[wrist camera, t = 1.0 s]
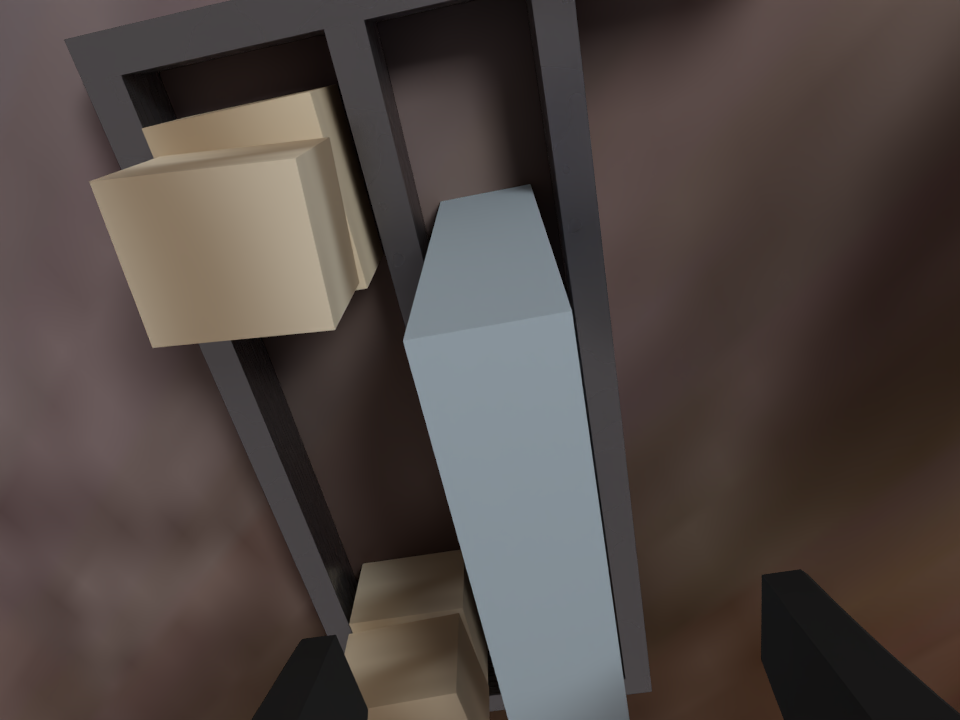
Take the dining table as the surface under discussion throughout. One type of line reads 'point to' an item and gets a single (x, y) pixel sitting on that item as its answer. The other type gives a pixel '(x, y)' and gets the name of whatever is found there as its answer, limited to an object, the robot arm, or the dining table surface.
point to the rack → (388, 175)
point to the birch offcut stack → (244, 221)
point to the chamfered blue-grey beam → (517, 455)
